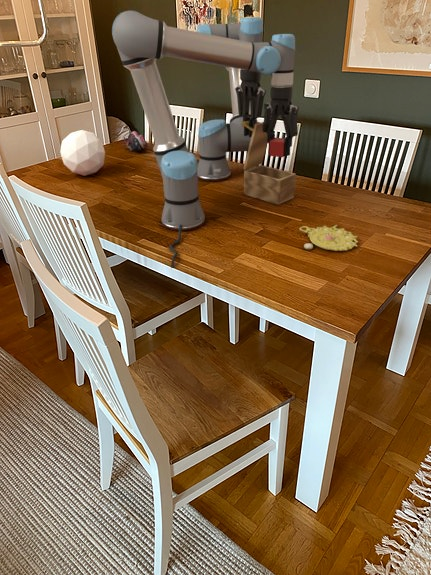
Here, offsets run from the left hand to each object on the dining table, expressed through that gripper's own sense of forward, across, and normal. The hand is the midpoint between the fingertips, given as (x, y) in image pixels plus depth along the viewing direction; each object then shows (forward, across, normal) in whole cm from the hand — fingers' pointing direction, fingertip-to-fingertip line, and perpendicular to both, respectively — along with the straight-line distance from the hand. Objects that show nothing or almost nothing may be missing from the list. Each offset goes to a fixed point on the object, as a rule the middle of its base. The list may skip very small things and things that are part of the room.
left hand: (279, 154), depth 163 cm
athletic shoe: (+16, +101, -5) cm, 102 cm away
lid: (-1, +10, 0) cm, 10 cm away
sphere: (+16, +86, +33) cm, 93 cm away
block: (0, 0, 0) cm, 0 cm away
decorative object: (+18, -34, +17) cm, 42 cm away
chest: (+17, +4, 0) cm, 18 cm away
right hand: (-4, +15, 0) cm, 15 cm away
